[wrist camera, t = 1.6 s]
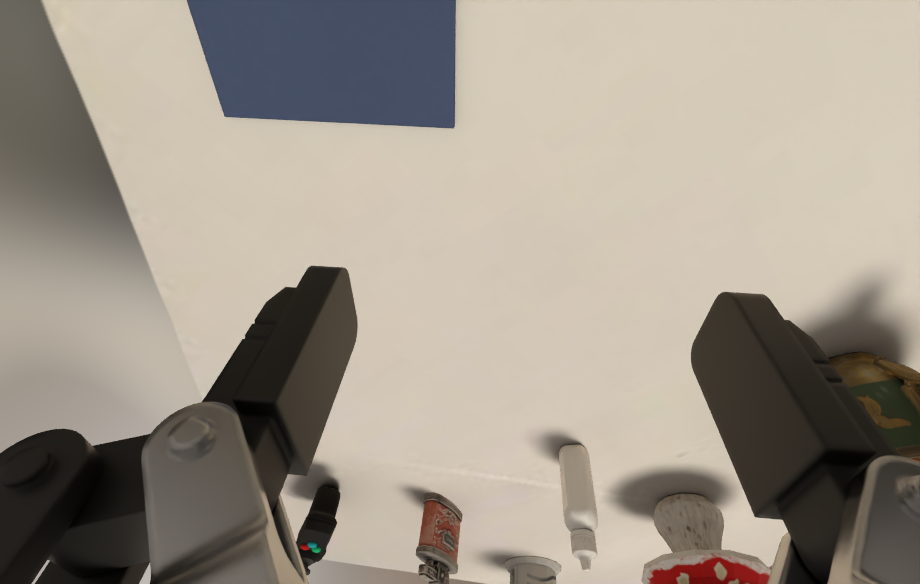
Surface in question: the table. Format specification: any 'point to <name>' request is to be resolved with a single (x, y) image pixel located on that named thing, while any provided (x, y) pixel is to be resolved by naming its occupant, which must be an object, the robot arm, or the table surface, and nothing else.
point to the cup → (886, 397)
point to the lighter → (439, 539)
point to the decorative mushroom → (698, 547)
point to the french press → (532, 570)
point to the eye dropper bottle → (579, 502)
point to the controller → (318, 526)
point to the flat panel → (332, 59)
